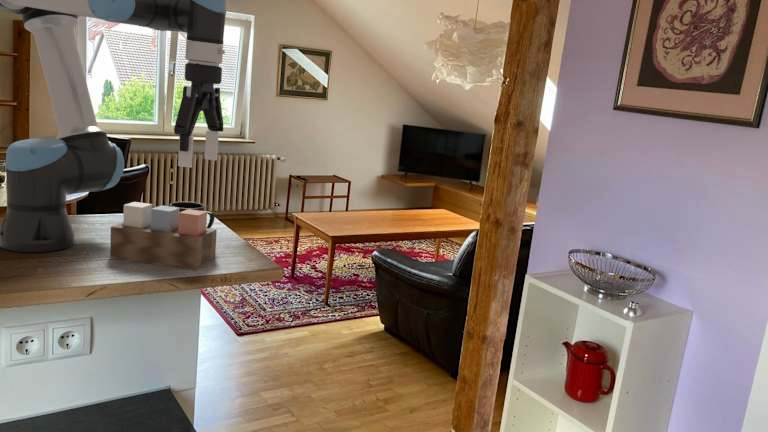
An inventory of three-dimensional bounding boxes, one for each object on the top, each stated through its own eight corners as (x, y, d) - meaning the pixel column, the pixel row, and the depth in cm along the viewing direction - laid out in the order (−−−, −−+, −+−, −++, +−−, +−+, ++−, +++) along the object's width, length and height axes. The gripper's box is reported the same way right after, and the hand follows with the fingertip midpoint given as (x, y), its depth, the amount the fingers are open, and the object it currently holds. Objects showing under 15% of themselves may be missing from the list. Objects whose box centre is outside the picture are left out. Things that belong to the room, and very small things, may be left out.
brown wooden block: (110, 257, 139) (110, 226, 138) (134, 246, 149) (135, 217, 148) (196, 270, 137) (197, 239, 135) (215, 258, 146) (216, 229, 145)
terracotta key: (178, 243, 139) (179, 212, 138) (187, 239, 144) (188, 209, 142) (197, 246, 139) (198, 215, 137) (205, 241, 143) (207, 211, 142)
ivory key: (123, 235, 141) (123, 205, 139) (133, 231, 145) (134, 201, 144) (141, 238, 140) (142, 207, 139) (151, 234, 145) (152, 204, 143)
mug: (199, 251, 150) (201, 212, 148) (160, 242, 155) (162, 204, 153) (221, 245, 158) (223, 208, 156) (184, 236, 162) (185, 200, 160)
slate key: (150, 239, 140) (151, 208, 139) (160, 235, 144) (161, 205, 143) (169, 242, 140) (170, 211, 138) (178, 237, 144) (179, 207, 142)
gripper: (196, 63, 121) (190, 172, 126) (241, 67, 145) (235, 159, 150) (159, 58, 122) (154, 167, 126) (210, 63, 146) (205, 154, 151)
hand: (198, 163), depth 138 cm, fingers open, 13 cm apart
